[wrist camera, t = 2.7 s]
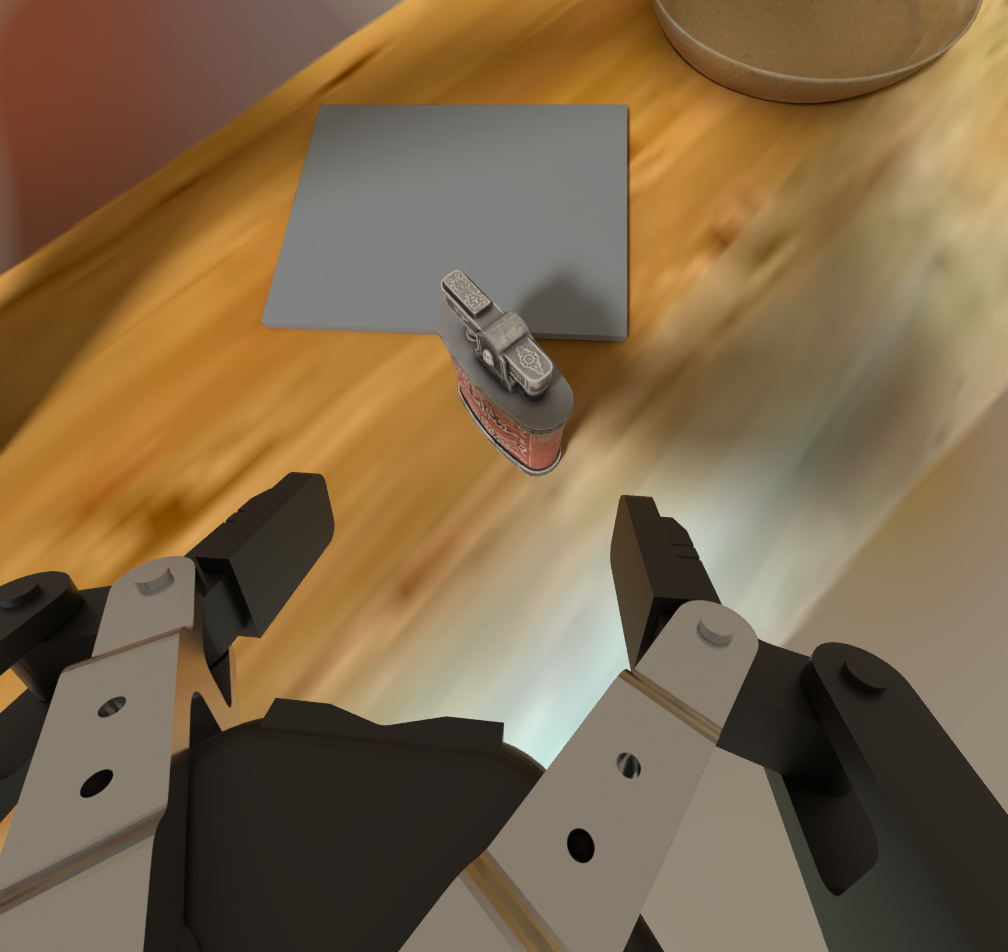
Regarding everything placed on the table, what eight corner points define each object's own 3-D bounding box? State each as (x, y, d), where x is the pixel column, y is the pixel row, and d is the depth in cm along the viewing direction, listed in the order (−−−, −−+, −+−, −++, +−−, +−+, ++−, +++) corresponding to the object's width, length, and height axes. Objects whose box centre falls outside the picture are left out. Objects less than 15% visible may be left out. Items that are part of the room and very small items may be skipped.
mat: (266, 327, 28) (261, 322, 28) (323, 113, 33) (319, 104, 33) (624, 341, 27) (626, 336, 26) (625, 113, 32) (626, 104, 31)
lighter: (573, 453, 25) (603, 366, 15) (530, 489, 24) (532, 421, 15) (489, 362, 27) (468, 233, 17) (447, 394, 26) (402, 279, 17)
